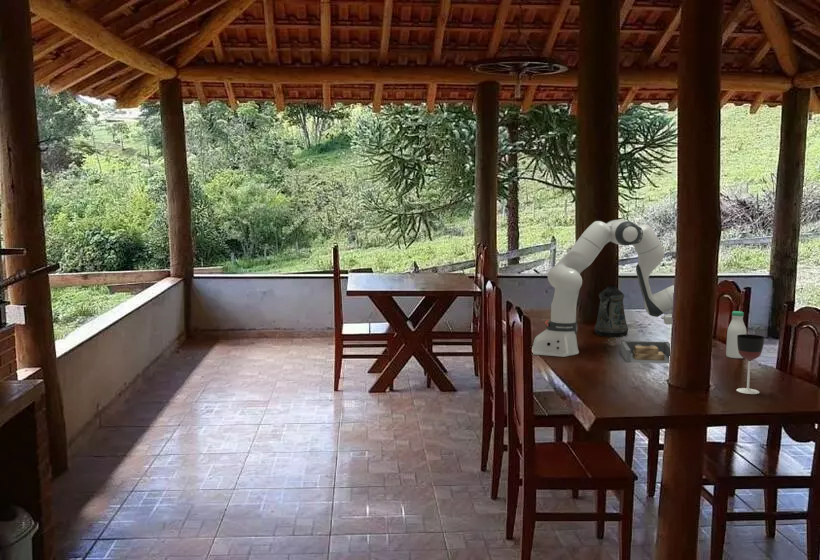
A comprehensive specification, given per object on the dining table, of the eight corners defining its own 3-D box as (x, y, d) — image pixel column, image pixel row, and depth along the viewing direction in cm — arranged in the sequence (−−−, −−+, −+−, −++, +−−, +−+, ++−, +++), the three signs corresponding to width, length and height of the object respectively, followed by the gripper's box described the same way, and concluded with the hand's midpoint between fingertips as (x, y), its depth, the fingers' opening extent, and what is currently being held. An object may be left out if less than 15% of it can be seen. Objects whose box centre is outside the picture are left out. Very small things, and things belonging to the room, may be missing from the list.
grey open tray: (626, 365, 289) (626, 350, 288) (620, 354, 308) (620, 340, 307) (676, 367, 286) (677, 351, 285) (667, 356, 305) (668, 341, 304)
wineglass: (764, 394, 246) (767, 339, 243) (738, 393, 247) (740, 338, 245) (757, 388, 253) (760, 334, 251) (731, 387, 255) (734, 334, 252)
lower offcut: (634, 359, 293) (634, 353, 293) (632, 356, 299) (632, 350, 299) (664, 360, 291) (664, 354, 291) (661, 357, 297) (662, 351, 297)
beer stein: (625, 331, 360) (627, 284, 357) (630, 339, 341) (632, 289, 338) (592, 330, 363) (594, 283, 360) (596, 338, 344) (597, 288, 341)
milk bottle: (747, 359, 299) (749, 313, 296) (728, 358, 300) (730, 312, 298) (742, 355, 306) (745, 310, 304) (724, 354, 308) (726, 310, 305)
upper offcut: (635, 353, 293) (636, 348, 293) (634, 351, 298) (634, 345, 298) (658, 354, 292) (658, 348, 291) (656, 351, 297) (656, 346, 296)
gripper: (660, 309, 310) (666, 315, 297) (709, 310, 307) (717, 315, 293) (660, 323, 311) (666, 329, 297) (708, 324, 307) (716, 330, 294)
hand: (691, 322), depth 295 cm, fingers closed on birch strip, 3 cm apart
